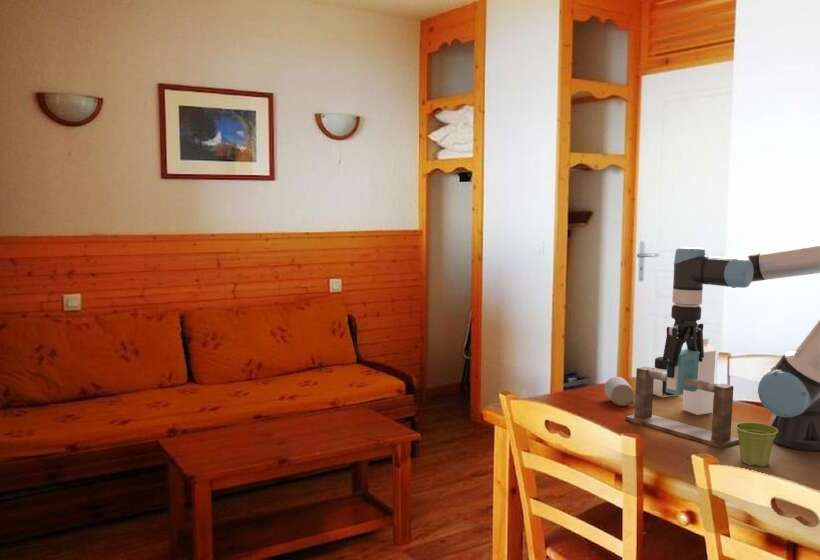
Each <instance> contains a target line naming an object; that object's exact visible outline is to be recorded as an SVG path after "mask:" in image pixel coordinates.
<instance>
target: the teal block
mask: <svg viewBox="0 0 820 560" xmlns="http://www.w3.org/2000/svg"><path fill="white" fill-rule="evenodd" d="M698 363H699V351H692V350H688V349H686V348H684V349H683V348H682V349H681V352H680V354H679V357H678V362H677V365H676V366H678V382H677V390H672V389H668V388H667V377H666V392H667V393H671V394H675V395H678V396H681V395H682V396H683V392H684V390H687V391H691V392H694V391H697V389H696V388H691V387H687V386H684V377H688V378H692V379H698ZM667 368H668V366H667Z"/></svg>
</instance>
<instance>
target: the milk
mask: <svg viewBox="0 0 820 560" xmlns="http://www.w3.org/2000/svg"><path fill="white" fill-rule="evenodd" d="M709 340H710V339H709V338H703V348H704V357H703V358H702V359H703V360H702V362H699V363H698V379H697V380H701V381H705V382H710V383H714V384H715V369H716V355H717V354H716V350H715V348H713V347H712V346H711V344H709ZM685 349H688V348H687V347H686V348H685ZM699 353H700V352H699ZM682 396H683V398H682V411H684V412H688V413H690V414H693V415H696V416H700V415H701V416H702V415H706V414H707V415H708V414H713V400H714V393H713V392H708V391H704V390H700V389H697V391H694V392H691V391H687V390H683V394H682Z"/></svg>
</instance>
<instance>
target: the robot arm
mask: <svg viewBox="0 0 820 560" xmlns="http://www.w3.org/2000/svg"><path fill="white" fill-rule="evenodd" d="M674 253H675V254H674V262H673V282H672V283H673V285H672V303H673V304H672V305H671V314H670V315H671V316H670V317H671V318H672V319H673V320H674V323H673V326H667V327H666V338H665V339H666V340H665V345H664V349H663V354H662V355H663V356H662V357H663V360H662V363H664V364H666V365H667V366H668V368H667V388H668V389H672V390H677V382H678V366H676V365H677V362H678V357H679V354H680V352H681V350H683V345H684V344H685V343H686V348H688V350H692V351H699V352H700V353H699V362H702V360H703V359H702V358H703V357H704V348H703V339H704V334H703V332H704V323H700V322H697V321H699V320H701V318H702V307H701V306H700V305H702V304H703V289H704V287H703V285H708V286H710V285H712V286H719V287H728V288H733V289H735V288H743V289H745V288H748V287H749V286H751V283H753V282H761V281H765V280H766V281H768V280H775V279H783V278H784V279H785V278H791V277H799V276H806V275H814V274H816V275H817V274H820V242H817V243H812V244H805V245H799V246H794V247H793V246H792V247H786V248H780V249H773V250H768V251H761V252H755V253H754V252H753V253H744V254H741V255H733V256H727V257H726V256H723V257H722V256H709V255H706V250H705V249H704V248H703V247H695V246H694V247H692V246H681V247H680V246H679V247H678V248H676V249H675V252H674ZM757 387H758V388H757V394H758V399H759V401H760V402H761V404H762V405H763V407H764V408H765V409H766V410H767V411H768V412H770V413H771V414H773V415H775V416H774V418H773V420H772V423H771V425H770V426H773V427H775V428H777V429H778V433H777V434H776V437H775V439H774V441H773V443H775V444H778V445H779V446H783V447H786V448H790V449H795V450H801V451H808V452H809V451H810V452H811V451H812V452H820V451H819V450H820V319H819V320H818V321H817V323H816V324H815V326H814V327H813V328H812V329H811V331H810V332H809V333H808V335H806V337H805V338H804V339H803V341H802V342H801V343H800V345H799V346H798V347H797V348H796V350H793V351H787V352H785V353H784V354H783V355H782V356H781V358H780V359H779V361H778V362H777V363H776V364H775V366H774V367H773V368H772V370H771V371H769V372H767V373H766V374H764V375H763V376H762V377H761V380H759V383H758V386H757Z"/></svg>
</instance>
